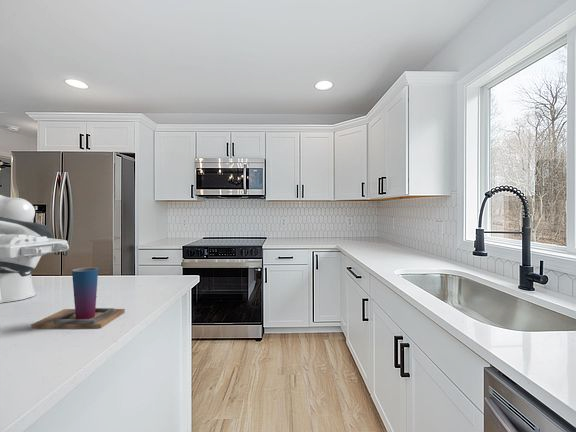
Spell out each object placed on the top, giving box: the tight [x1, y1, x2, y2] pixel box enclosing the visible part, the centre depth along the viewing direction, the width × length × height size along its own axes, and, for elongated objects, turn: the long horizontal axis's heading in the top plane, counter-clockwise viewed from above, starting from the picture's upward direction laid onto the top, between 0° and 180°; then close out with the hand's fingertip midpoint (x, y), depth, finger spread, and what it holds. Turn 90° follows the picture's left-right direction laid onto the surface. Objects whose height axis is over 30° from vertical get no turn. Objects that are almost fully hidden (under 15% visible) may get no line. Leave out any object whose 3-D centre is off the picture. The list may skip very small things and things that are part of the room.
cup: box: [71, 266, 99, 319], centre depth 97 cm, size 7×7×15 cm
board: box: [30, 307, 126, 329], centre depth 98 cm, size 20×14×2 cm
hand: (53, 249), depth 99 cm, fingers open, 8 cm apart
